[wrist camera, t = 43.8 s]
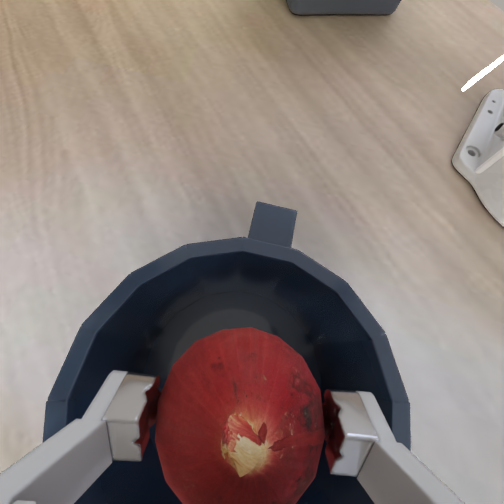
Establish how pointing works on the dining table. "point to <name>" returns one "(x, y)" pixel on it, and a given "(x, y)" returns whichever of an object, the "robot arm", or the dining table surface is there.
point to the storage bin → (342, 6)
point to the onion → (240, 421)
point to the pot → (229, 317)
